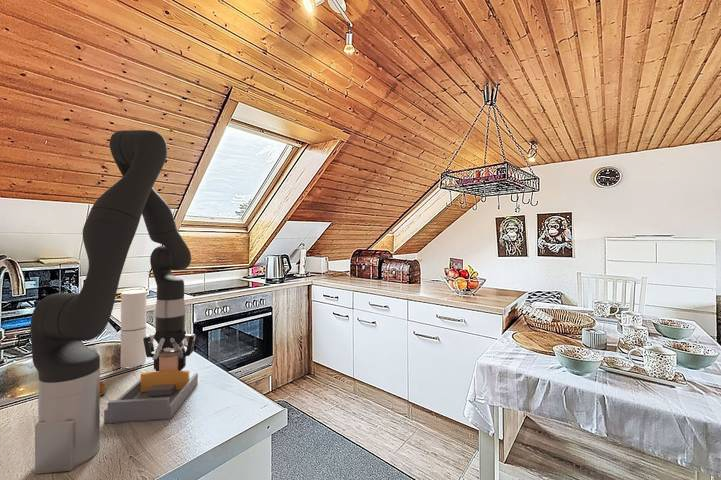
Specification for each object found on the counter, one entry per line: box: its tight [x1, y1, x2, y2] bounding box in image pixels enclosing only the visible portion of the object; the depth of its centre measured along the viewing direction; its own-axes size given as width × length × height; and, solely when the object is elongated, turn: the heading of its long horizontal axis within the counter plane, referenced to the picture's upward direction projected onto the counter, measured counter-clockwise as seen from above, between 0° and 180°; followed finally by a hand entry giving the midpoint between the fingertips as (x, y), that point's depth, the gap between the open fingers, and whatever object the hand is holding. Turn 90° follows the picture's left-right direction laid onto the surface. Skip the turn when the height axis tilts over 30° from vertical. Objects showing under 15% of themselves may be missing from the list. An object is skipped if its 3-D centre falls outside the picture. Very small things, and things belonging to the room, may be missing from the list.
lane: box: [103, 372, 199, 425], centre depth 87 cm, size 19×15×5 cm
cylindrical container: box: [120, 289, 147, 369], centre depth 111 cm, size 7×7×25 cm
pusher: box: [140, 370, 190, 396], centre depth 91 cm, size 4×12×5 cm, turn 99°
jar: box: [158, 348, 180, 372], centre depth 96 cm, size 6×6×8 cm
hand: (169, 369), depth 96 cm, fingers closed on jar, 5 cm apart
